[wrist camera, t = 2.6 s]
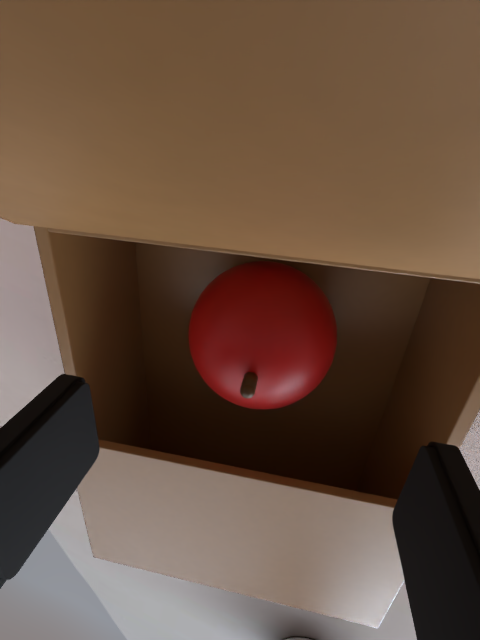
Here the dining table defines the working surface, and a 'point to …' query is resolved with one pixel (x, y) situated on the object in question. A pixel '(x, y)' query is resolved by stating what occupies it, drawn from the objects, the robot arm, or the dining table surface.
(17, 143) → the flap
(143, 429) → the cardboard box
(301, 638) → the flower vase
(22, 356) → the dining table surface
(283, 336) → the apple
